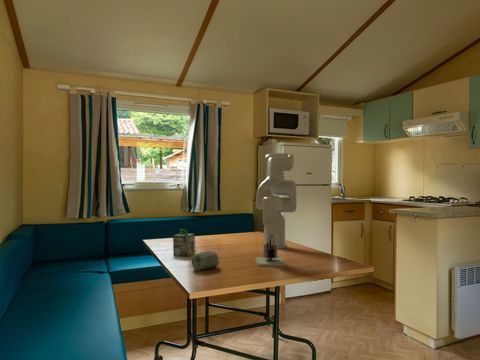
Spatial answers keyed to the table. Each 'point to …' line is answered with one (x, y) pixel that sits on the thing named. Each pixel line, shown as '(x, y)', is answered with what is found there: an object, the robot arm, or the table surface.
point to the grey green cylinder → (204, 260)
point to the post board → (270, 261)
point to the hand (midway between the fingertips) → (270, 255)
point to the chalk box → (184, 244)
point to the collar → (267, 251)
